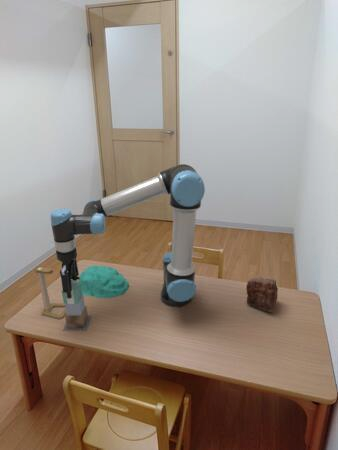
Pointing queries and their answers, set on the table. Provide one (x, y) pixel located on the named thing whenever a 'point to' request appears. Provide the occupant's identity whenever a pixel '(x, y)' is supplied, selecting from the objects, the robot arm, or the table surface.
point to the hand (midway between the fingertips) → (73, 298)
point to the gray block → (75, 308)
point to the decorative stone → (102, 282)
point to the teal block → (76, 291)
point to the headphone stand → (47, 304)
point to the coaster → (79, 328)
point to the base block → (77, 320)
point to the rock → (262, 293)
